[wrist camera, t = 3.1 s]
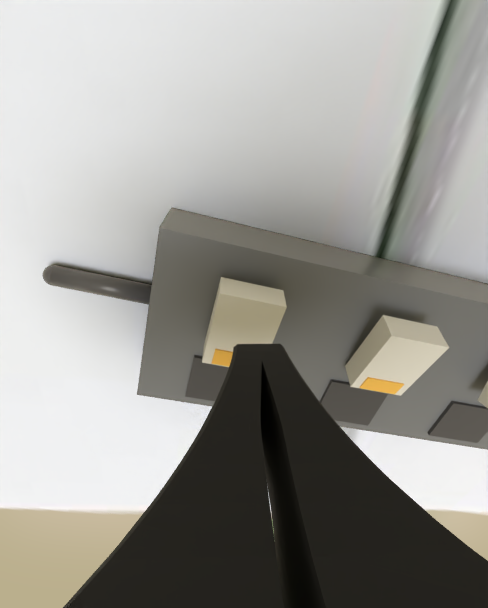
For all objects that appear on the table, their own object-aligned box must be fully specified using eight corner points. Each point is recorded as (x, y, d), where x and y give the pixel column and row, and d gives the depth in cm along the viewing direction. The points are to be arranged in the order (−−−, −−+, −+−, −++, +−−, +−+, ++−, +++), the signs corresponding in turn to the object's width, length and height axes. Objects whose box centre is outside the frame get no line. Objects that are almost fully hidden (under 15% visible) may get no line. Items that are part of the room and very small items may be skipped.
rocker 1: (283, 290, 14) (286, 308, 13) (259, 353, 16) (260, 374, 15) (220, 277, 13) (219, 294, 12) (204, 344, 15) (201, 363, 14)
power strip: (565, 302, 19) (622, 336, 16) (473, 413, 23) (505, 454, 20) (45, 177, 15) (2, 192, 12) (50, 339, 19) (20, 379, 16)
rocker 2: (437, 326, 15) (450, 349, 14) (393, 374, 17) (401, 397, 16) (383, 314, 14) (392, 337, 13) (345, 366, 17) (350, 387, 16)
